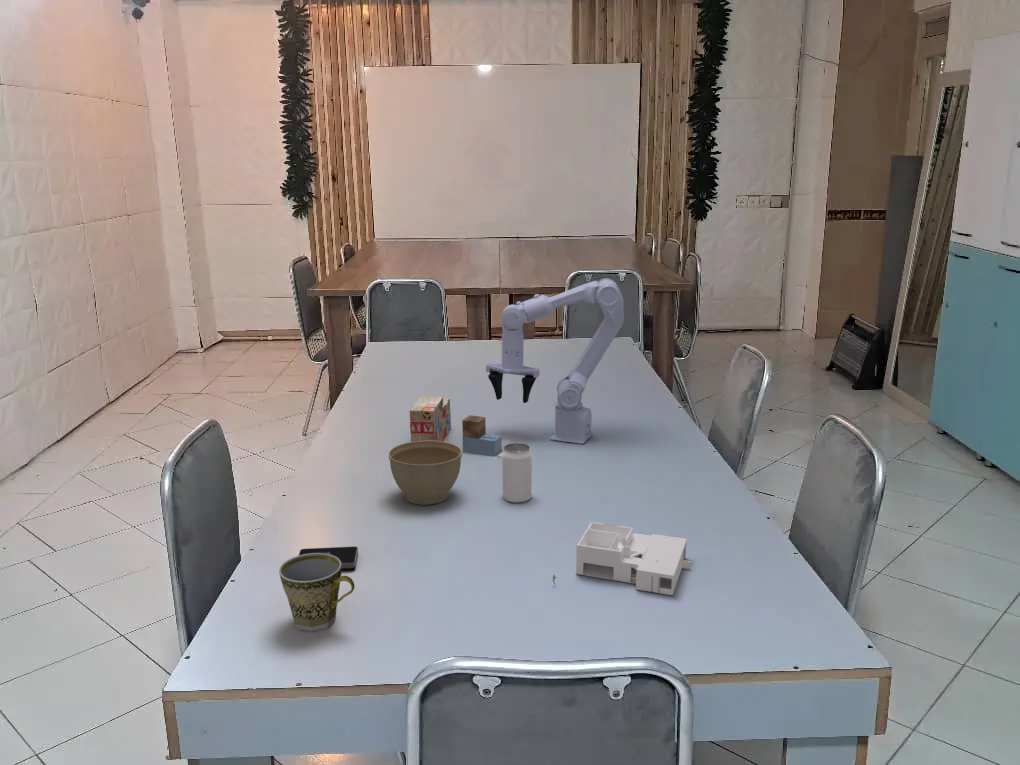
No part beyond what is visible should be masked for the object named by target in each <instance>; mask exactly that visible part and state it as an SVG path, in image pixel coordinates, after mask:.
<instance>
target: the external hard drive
mask: <svg viewBox="0 0 1020 765" xmlns="http://www.w3.org/2000/svg"><path fill="white" fill-rule="evenodd" d="M309 553H326V554H331V555H333V556H336V557H337V558H339V559H340V560H341V562H342V572H354V571H355V570H356V567H357V562H358V557H359V547H358V546H356V545H355V546H353V545H352V546H337V547H336V546H335V547H334V546H333V547H332V546H331V547H313V548H311V547H310V548H309V547H308V548H302V549H300V550H299V553H298V555H297V556H299V555H303V554H309Z"/></svg>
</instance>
